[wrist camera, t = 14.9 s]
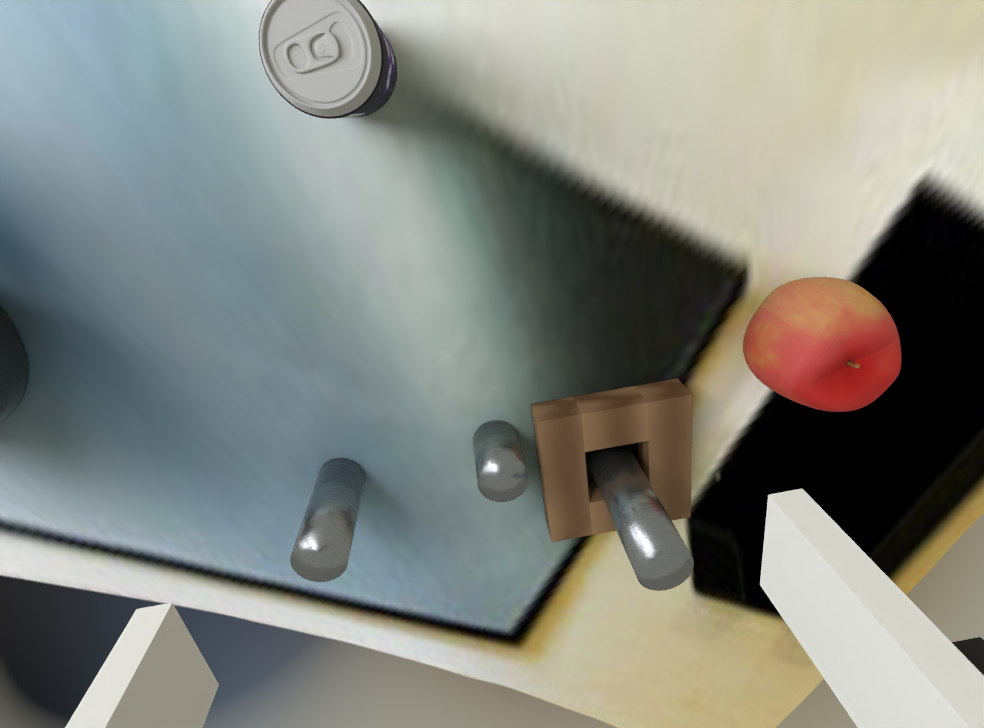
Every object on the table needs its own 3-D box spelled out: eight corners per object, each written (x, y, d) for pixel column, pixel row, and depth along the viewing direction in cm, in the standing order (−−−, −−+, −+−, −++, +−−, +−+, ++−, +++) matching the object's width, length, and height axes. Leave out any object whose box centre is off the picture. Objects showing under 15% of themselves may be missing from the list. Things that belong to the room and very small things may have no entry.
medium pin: (325, 498, 49) (299, 585, 40) (313, 462, 47) (283, 545, 38) (369, 491, 49) (353, 576, 40) (359, 454, 47) (339, 535, 38)
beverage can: (410, 101, 36) (399, 96, 25) (330, 127, 36) (285, 135, 26) (378, 4, 34) (350, -47, 23) (292, 33, 34) (226, -3, 23)
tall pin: (587, 474, 51) (637, 595, 38) (584, 438, 49) (635, 552, 36) (629, 466, 51) (693, 584, 38) (627, 431, 49) (694, 542, 36)
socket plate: (545, 519, 52) (551, 542, 50) (530, 404, 47) (536, 422, 44) (677, 496, 53) (690, 516, 50) (677, 378, 47) (692, 394, 44)
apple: (851, 317, 46) (952, 367, 37) (759, 390, 49) (833, 454, 40) (795, 238, 43) (890, 272, 34) (698, 321, 45) (764, 373, 36)
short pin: (476, 462, 49) (481, 505, 44) (469, 424, 47) (473, 465, 42) (520, 454, 49) (530, 497, 44) (514, 416, 47) (525, 456, 42)
